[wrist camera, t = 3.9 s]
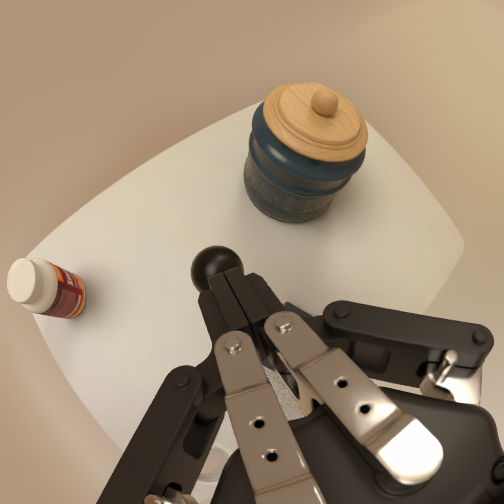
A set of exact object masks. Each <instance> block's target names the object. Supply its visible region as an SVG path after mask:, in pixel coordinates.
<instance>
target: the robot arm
mask: <svg viewBox="0 0 504 504" xmlns="http://www.w3.org/2000/svg"><path fill="white" fill-rule="evenodd" d="M223 274H224V275H223ZM207 280H208V282H209V285H210V288H211V289H209V290H206V291H203V292H201V293H200V295H199V299H198V303H199V306H200V309H201V312H202V315H203V318H204V321H205V324H206V327H207V330H208V333H209V335H210V338H211V341H212V350H211V352H210V354H209V356H208V357H207V358H206V359H205V360H204V361H203V362H202V363H200V364H199V365H197V366H196V367H193V366H189V365H184V366H179V367H177V368H175V369H173V370H172V371H171V372H170V373H169V374H168V375H167V376H166V378H165V380H164V382H163V383H162V385H161V387H160V389H159V390H158V392H157V394H156V396H155V398H154V399H153V401H152V403H151V405H150V406H149V408H148V410H147V412H146V414H145V415H144V417H143V419H142V421H141V422H140V424H139V426H138V428H137V430H136V431H135V433H134V435H133V437H132V439H131V440H130V442H129V444H128V446H127V448H126V450H125V451H124V453H123V455H122V457H121V459H120V460H119V462H118V464H117V466H116V468H115V470H114V472H113V473H112V475H111V477H110V479H109V481H108V483H107V484H106V486H105V488H104V490H103V492H102V494H101V496H100V498H99V500H98V501H97V503H96V504H198V503H197V501H196V500H195V499H194V498H193V497H192V496H191V495H190V494H191V492H192V490H193V488H194V486H195V483H196V481H197V479H198V477H199V475H200V472H201V470H202V468H203V466H204V463H205V461H206V459H207V456H208V454H209V452H210V450H211V447H212V445H213V443H214V440H215V438H216V436H217V433H218V431H219V428H220V426H221V424H222V421H223V419H224V415H225V411H227V410H228V414H229V417H230V421H231V424H232V427H233V431H234V434H235V437H236V440H237V443H238V447H239V448H238V449H237V450H236V451H235V452H234V453H233V454H232V455H231V456H230V458H229V459H228V460H227V462H226V464H225V466H224V468H223V471H222V473H221V476H220V479H219V482H218V484H217V487H216V490H215V492H214V495H213V498H212V500H211V503H210V504H504V452H503V449H502V447H501V444H500V441H499V438H498V432H497V428H496V424H495V421H494V419H493V417H492V416H491V414H490V413H489V412H488V411H487V410H486V409H484V408H482V407H480V397H481V384H482V365H483V363H484V361H485V359H486V357H487V355H488V354H489V352H490V351H491V349H492V347H493V345H494V338H493V335H492V333H491V332H490V330H489V329H488V328H486V327H485V326H483V325H480V324H474V323H467V322H461V321H455V320H448V319H443V318H437V317H431V316H425V315H419V314H414V313H408V312H403V311H397V310H392V309H386V308H381V307H376V306H370V305H365V304H360V303H355V302H350V301H344V300H340V301H335V302H332V303H330V304H329V305H327V306H326V307H325V309H324V311H323V315H321V316H315V317H309V318H301V317H300V316H299V315H298V314H296V313H294V312H290V311H287V310H286V309H285V307H284V306H283V305H282V303H281V302H280V301H279V299H278V298H277V297H276V295H275V294H274V293H273V291H272V290H271V288H270V287H269V286H268V285H267V283H266V282H265V280H264V279H263V278H262V277H261V276H259V275H257V274H255V273H251V274H248V275H246V276H245V275H244V274H243V272H242V271H241V269H240V268H239V267H235V268H233V269H230V270H227V271H225V272H223V273H219V274H217V275H214V276H211V277H209V278H207ZM258 353H259V354H258ZM259 355H260V357H261V359H262V361H263V360H265V359H267V358H268V359H269V361H270V363H271V364H272V366H273V368H274V369H275V372H276V374H277V375H278V377H279V378H280V379H281V381H282V382H283V384H284V385H285V387H286V388H287V389H288V391H289V392H290V394H291V395H292V396H293V398H294V399H295V401H296V402H297V403H298V405H299V407H300V409H301V411H302V413H303V415H304V418H300V419H295V420H291V421H287V419H286V417H285V415H284V412H283V410H282V408H281V405H280V403H279V401H278V399H277V396H276V394H275V392H274V389H273V387H272V385H271V383H270V381H269V380H268V378H267V375H266V373H265V371H264V368H263V366H262V363H261V360H260V357H259ZM370 378H372V379H376V380H381V381H386V382H390V383H395V384H400V385H405V386H411V387H416V388H420V391H421V392H422V394H423V395H418V394H413V393H409V392H405V391H400V390H396V389H392V388H387V387H380V386H379V387H378V386H377V385H376V384H374V382H373V381H372V380H371V379H370Z"/></svg>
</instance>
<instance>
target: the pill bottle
mask: <svg viewBox="0 0 504 504" xmlns="http://www.w3.org/2000/svg"><path fill="white" fill-rule="evenodd" d="M7 287H8V291H9V294H10V296H11V298H12V299H13V300H14V301H16V302H18V303H21V304H22V305H23V306H24V307H25V308H26V309H27V310H28V311H30V312H33V313H36V314H42V315H48V316H53V317H59V318H73V317H75V316H77V315H78V314H79V313H80V312H81V310H82V309H83V307H84V304H85V299H86V292H85V287H84V285H83V282H82V281H81V280H80V278H79V277H77V276H76V275H74V274H73V273H70V272H68V271H66V270H64V269H62V268H60V267H58V266H56V265H54V264H52V263H50V262H48V261H46V260H44V259H33V260H29V259H26V258H20V259H18V260H17V261H15V262H14V264H13V265H12V266H11V269H10V270H9V273H8V278H7Z"/></svg>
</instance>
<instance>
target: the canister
mask: <svg viewBox="0 0 504 504" xmlns="http://www.w3.org/2000/svg"><path fill="white" fill-rule="evenodd" d="M367 140H368V131H367V127H366V124H365V121H364V119H363V117H362V116H361V114H360V113H359V112H358V110H357V109H356V108H355V107H354V106H353V105H352V104H351V103H350V102H349V101H348V100H347V99H346V98H345V97H343V96H342V95H340V94H339V93H337V92H336V91H334V90H331V89H330V88H327V87H324V86H321V85H317V84H310V83H290V84H285V85H282V86H280V87H277V88H276V89H274V90H273V91H272V92H270V94H269V95H268V96H267V98H266V99H265V101H264V102H262V103H261V104H260V105H259V107H258V108H257V109H256V111H255V113H254V115H253V119H252V131H251V134H250V138H249V152H248V157H247V159H246V162H245V166H244V183H245V187H246V191H247V193H248V195H249V197H250V199H251V201H252V202H253V203H254V205H255V206H256V207H257V208H258V209H259V210H260V211H262V212H263V213H264V214H266V215H268V216H269V217H271V218H274V219H276V220H279V221H283V222H290V223H297V222H303V221H307V220H310V219H312V218H314V217H316V216H318V215H319V214H321V213H322V212H323V211H324V210H325V209H326V208H327V207H328V206H329V205H330V203H331V202H332V200H333V198H334V196H335V195H336V194H337V193H338V192H339V191H340V190H341V189H342V188H343V187H344V186H345V185H346V184H347V183H348V182H349V180H350V178H351V176H352V175H353V174H354V173H356V172H357V171H358V170H359V168H360V167H361V165H362V164H363V161H364V158H365V152H366V148H365V146H366V144H367Z"/></svg>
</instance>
